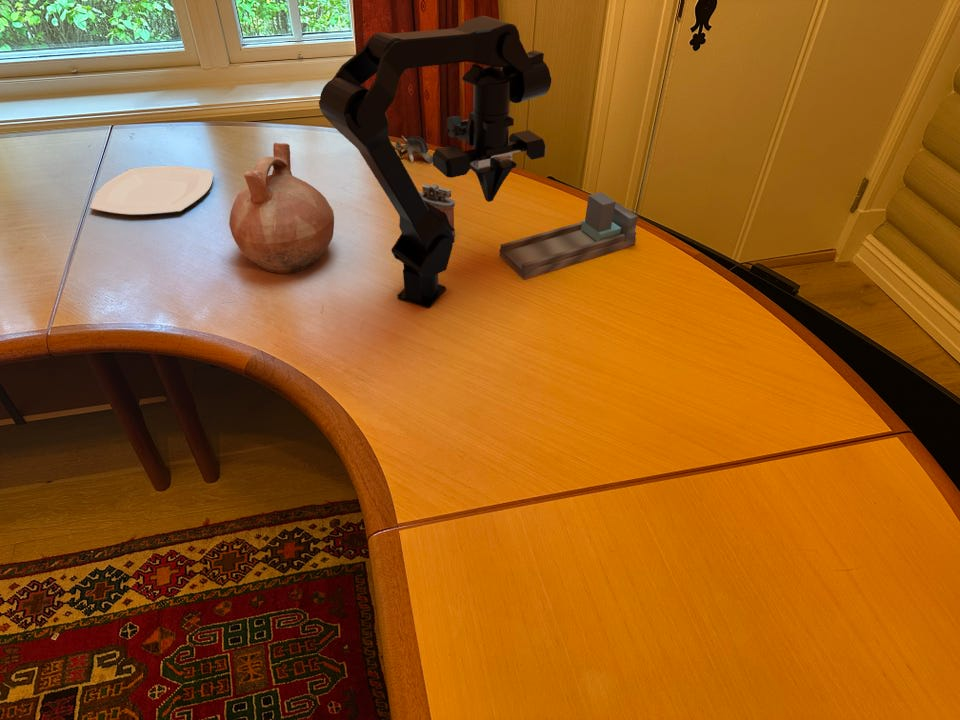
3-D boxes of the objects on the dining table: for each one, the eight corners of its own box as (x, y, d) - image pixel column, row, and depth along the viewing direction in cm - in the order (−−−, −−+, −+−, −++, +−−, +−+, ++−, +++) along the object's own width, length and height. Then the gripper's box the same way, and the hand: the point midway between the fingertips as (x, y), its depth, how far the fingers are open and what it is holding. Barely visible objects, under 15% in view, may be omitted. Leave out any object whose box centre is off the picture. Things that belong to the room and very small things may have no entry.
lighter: (415, 231, 123) (412, 185, 116) (424, 224, 125) (422, 178, 118) (449, 241, 120) (449, 194, 113) (458, 234, 122) (457, 187, 116)
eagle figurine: (392, 162, 144) (428, 159, 142) (390, 131, 144) (426, 127, 142) (403, 168, 152) (437, 164, 150) (401, 138, 151) (436, 135, 149)
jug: (315, 290, 107) (294, 184, 93) (221, 277, 109) (188, 171, 96) (353, 238, 120) (339, 138, 107) (268, 227, 123) (244, 129, 109)
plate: (189, 224, 124) (187, 215, 122) (77, 220, 124) (73, 212, 123) (227, 175, 141) (225, 167, 140) (129, 172, 141) (125, 164, 140)
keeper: (599, 243, 117) (605, 206, 112) (580, 229, 121) (586, 193, 116) (619, 237, 119) (626, 201, 114) (600, 223, 123) (606, 188, 118)
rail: (524, 279, 110) (527, 248, 106) (499, 256, 116) (500, 225, 112) (634, 245, 120) (641, 215, 116) (606, 225, 126) (611, 196, 122)
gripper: (515, 85, 104) (510, 172, 114) (415, 102, 97) (420, 193, 107) (551, 106, 96) (543, 196, 107) (447, 125, 89) (449, 220, 100)
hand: (488, 200), depth 105 cm, fingers closed
